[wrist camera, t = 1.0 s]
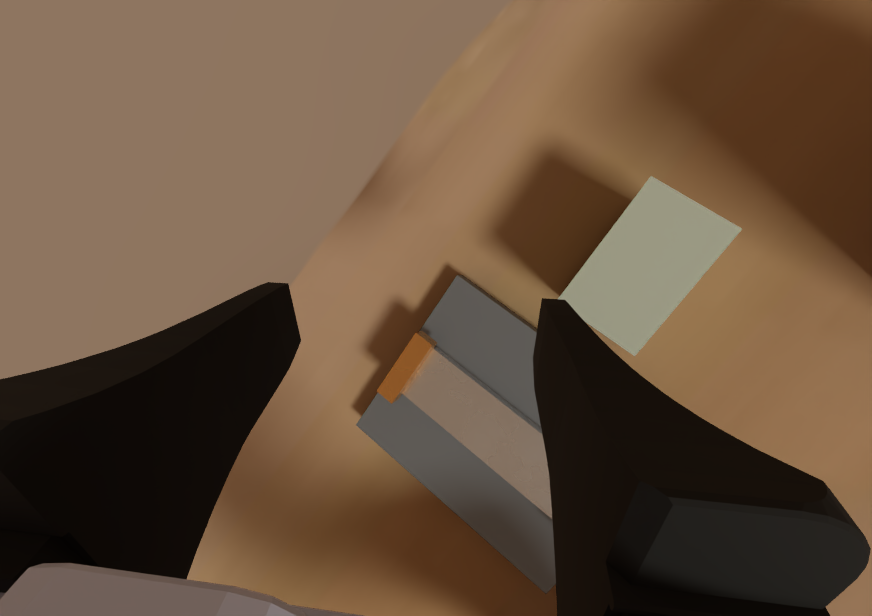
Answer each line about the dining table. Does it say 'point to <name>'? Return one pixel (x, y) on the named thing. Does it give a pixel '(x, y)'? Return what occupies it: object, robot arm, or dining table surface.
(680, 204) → the block
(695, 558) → the robot arm
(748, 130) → the dining table surface
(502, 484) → the mounting board
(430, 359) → the rail
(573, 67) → the dining table surface
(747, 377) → the dining table surface
